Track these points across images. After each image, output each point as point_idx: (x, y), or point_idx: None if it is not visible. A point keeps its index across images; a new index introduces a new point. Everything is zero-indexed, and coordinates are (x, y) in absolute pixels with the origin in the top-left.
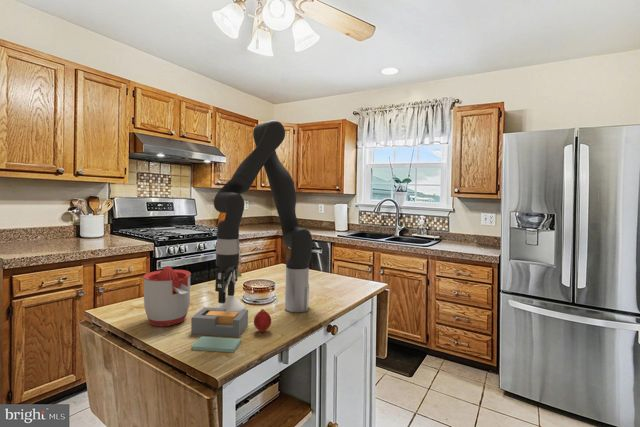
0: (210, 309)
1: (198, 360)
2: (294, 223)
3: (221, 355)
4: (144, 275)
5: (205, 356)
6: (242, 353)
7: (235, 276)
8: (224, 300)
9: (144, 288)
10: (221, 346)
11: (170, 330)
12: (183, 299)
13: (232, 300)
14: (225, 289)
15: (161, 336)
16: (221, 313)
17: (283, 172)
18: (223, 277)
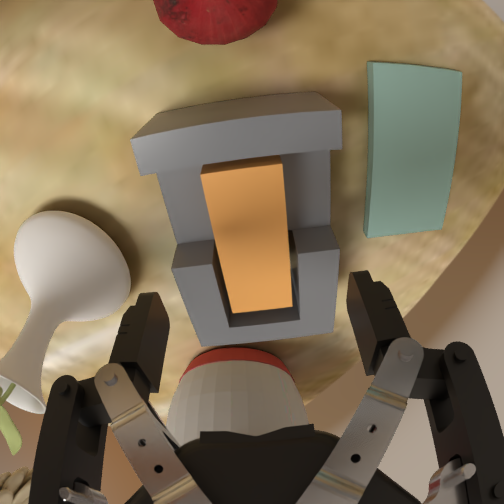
0: (216, 319)
1: (494, 170)
2: None
3: (473, 110)
4: None
5: (477, 160)
6: (455, 36)
7: (123, 447)
8: (372, 284)
9: None
10: (446, 127)
11: (302, 339)
12: (252, 416)
13: (60, 287)
14: (404, 359)
15: (346, 335)
16: (254, 254)
17: None
18: (500, 465)
